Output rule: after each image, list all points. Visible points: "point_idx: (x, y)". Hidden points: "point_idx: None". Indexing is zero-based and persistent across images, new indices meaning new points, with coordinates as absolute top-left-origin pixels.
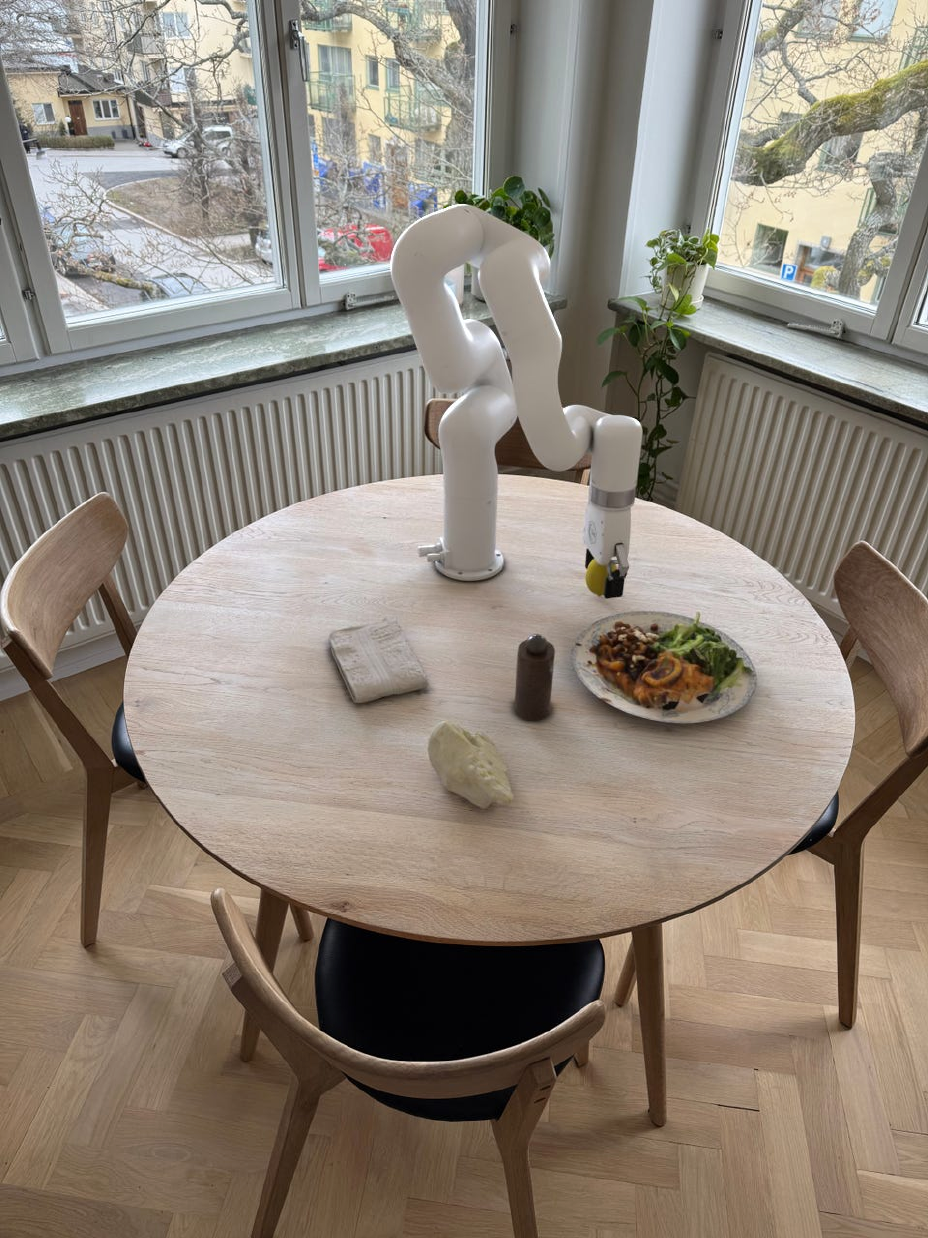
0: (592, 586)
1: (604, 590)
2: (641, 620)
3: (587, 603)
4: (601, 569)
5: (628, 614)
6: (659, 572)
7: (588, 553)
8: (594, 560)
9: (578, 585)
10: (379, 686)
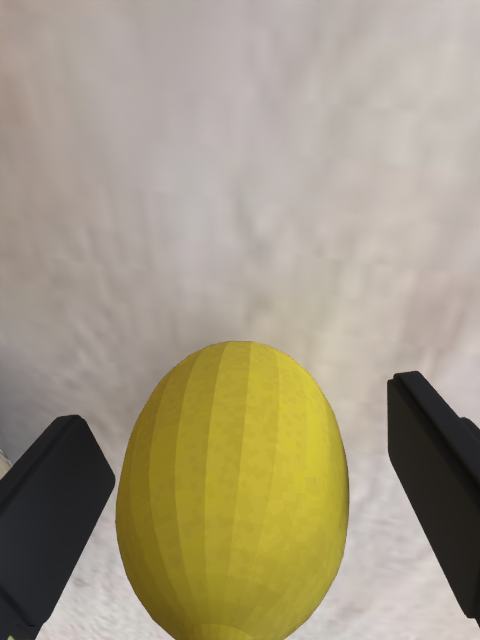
0: (165, 377)
1: (43, 446)
2: None
3: (180, 309)
4: (118, 541)
5: (7, 464)
6: (386, 556)
7: (465, 494)
8: (226, 552)
9: (345, 290)
10: None
